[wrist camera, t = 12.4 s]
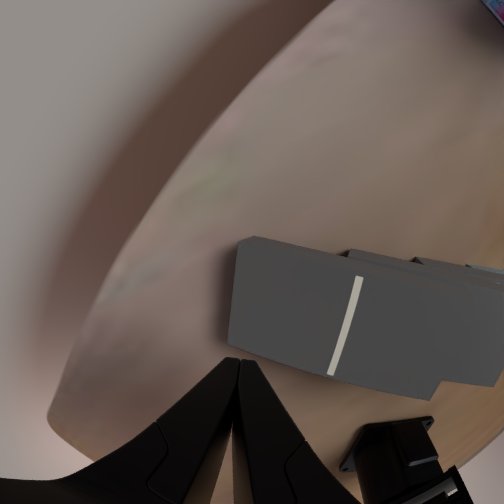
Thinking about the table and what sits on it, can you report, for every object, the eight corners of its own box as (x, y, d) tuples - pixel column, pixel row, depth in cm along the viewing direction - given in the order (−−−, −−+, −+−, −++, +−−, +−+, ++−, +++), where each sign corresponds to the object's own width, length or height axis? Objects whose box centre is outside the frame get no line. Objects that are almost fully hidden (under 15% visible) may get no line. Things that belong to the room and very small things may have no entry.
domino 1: (241, 329, 15) (426, 380, 11) (226, 344, 13) (429, 401, 9) (254, 235, 13) (466, 286, 9) (237, 241, 12) (477, 300, 8)
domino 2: (329, 339, 14) (486, 370, 11) (323, 354, 13) (493, 387, 9) (351, 248, 13) (520, 289, 9) (347, 255, 12) (533, 300, 8)
